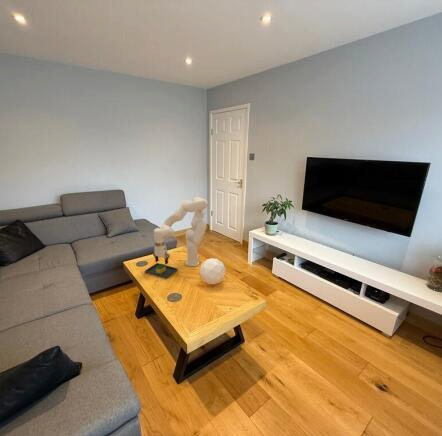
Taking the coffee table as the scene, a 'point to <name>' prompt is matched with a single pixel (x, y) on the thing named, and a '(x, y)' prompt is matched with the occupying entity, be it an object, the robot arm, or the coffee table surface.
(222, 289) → the coffee table surface
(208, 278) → the geometric sphere
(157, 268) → the sponge
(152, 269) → the tray
